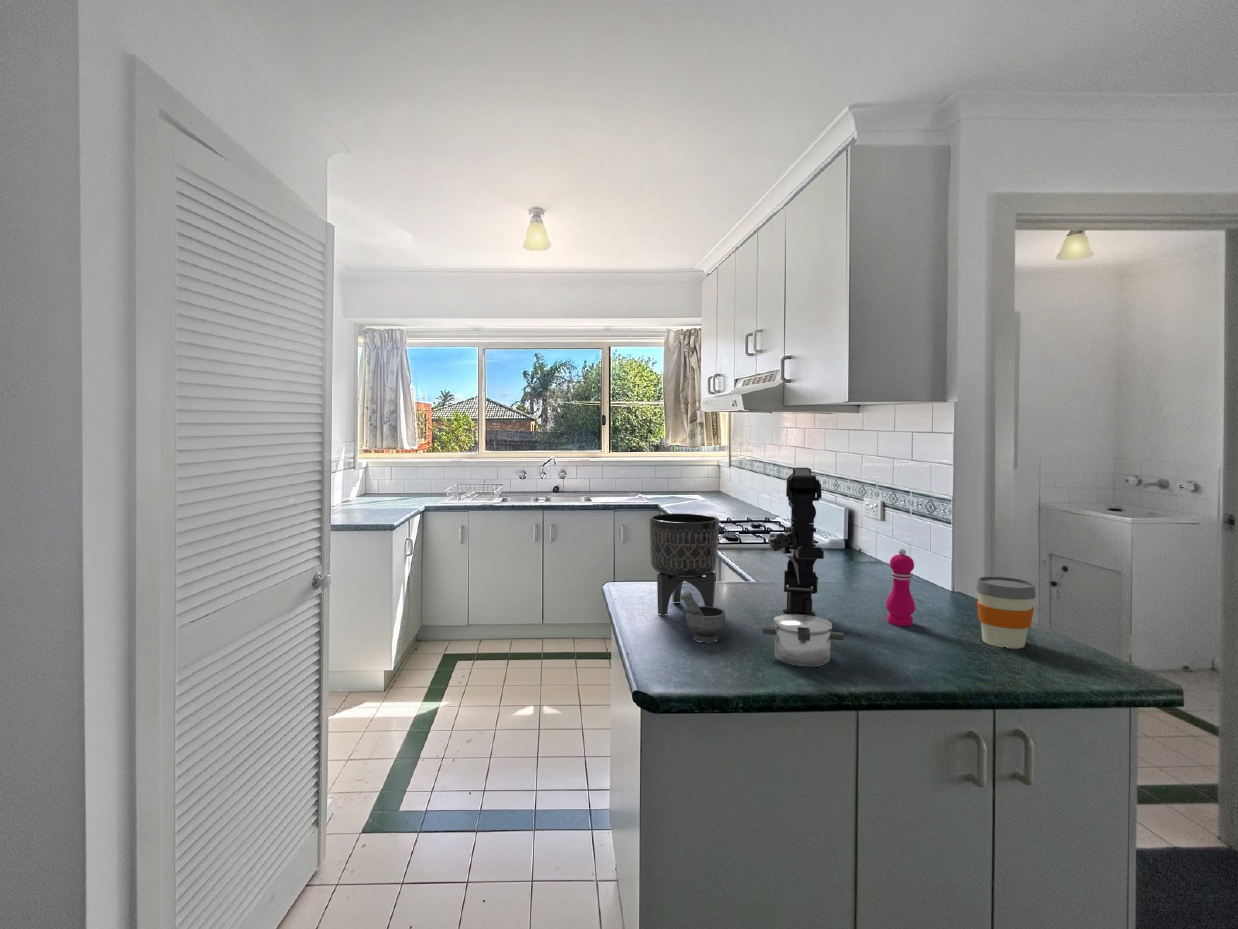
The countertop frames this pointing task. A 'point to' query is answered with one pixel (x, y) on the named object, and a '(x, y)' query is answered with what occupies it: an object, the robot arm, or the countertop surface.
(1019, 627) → the reusable coffee cup
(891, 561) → the pepper mill
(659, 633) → the countertop surface
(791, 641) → the steel pot
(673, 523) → the planter
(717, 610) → the mortar and pestle
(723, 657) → the countertop surface
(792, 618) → the steel lid
